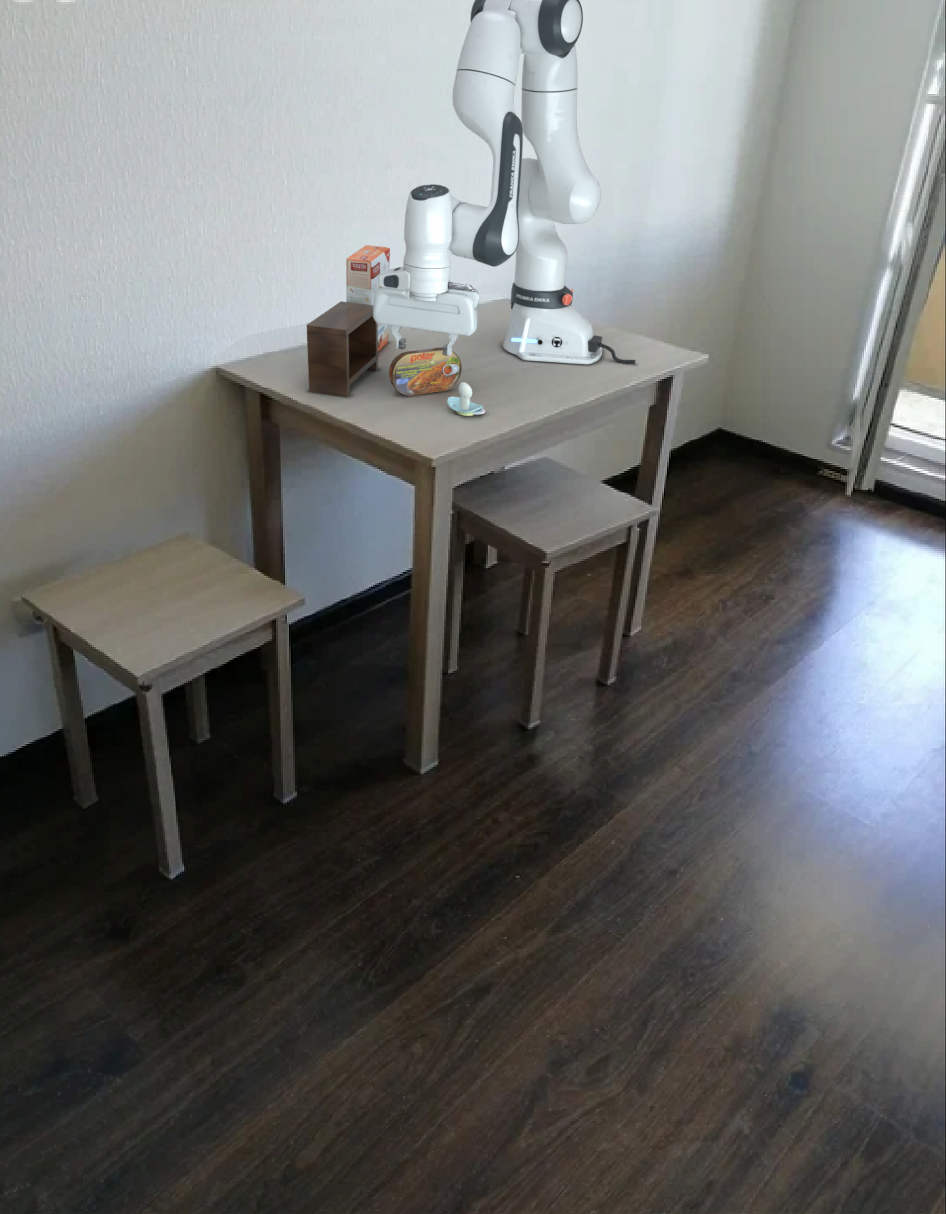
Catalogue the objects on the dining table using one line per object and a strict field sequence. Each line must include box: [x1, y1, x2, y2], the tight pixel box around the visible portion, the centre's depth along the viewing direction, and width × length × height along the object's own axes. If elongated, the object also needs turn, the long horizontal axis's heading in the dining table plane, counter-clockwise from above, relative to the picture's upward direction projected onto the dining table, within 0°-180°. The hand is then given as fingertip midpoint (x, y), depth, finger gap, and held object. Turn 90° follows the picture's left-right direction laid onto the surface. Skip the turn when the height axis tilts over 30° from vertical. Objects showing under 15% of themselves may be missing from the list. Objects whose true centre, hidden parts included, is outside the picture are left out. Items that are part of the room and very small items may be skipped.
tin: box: [388, 347, 463, 397], centre depth 195 cm, size 15×3×8 cm, turn 117°
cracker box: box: [345, 244, 391, 353], centre depth 212 cm, size 14×6×21 cm, turn 168°
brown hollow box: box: [306, 300, 379, 398], centre depth 197 cm, size 8×18×13 cm, turn 165°
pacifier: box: [446, 381, 486, 417], centre depth 187 cm, size 7×6×6 cm
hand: (423, 351), depth 193 cm, fingers open, 8 cm apart
